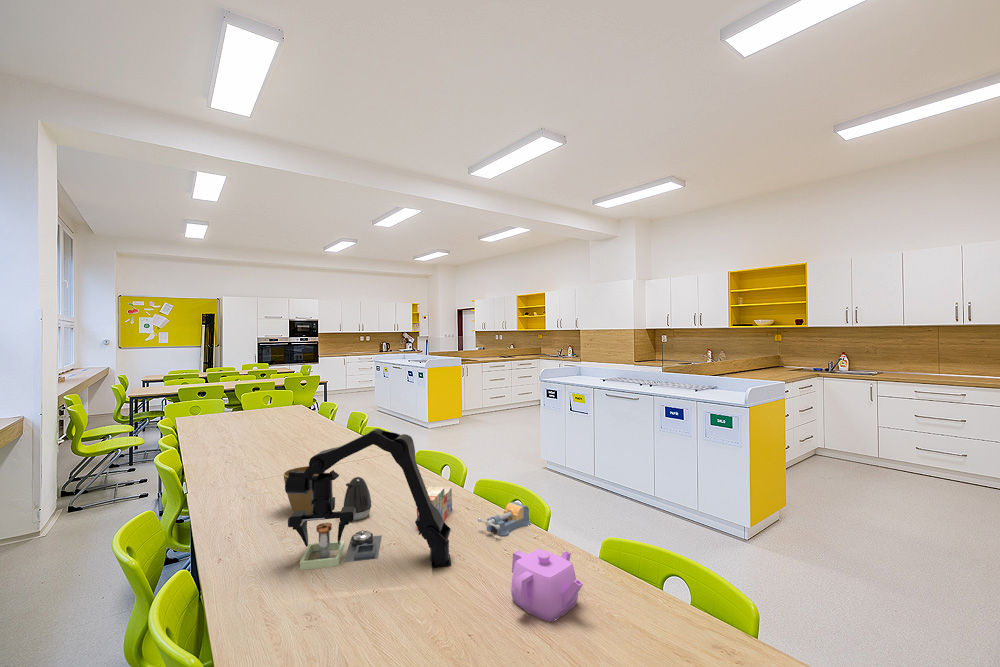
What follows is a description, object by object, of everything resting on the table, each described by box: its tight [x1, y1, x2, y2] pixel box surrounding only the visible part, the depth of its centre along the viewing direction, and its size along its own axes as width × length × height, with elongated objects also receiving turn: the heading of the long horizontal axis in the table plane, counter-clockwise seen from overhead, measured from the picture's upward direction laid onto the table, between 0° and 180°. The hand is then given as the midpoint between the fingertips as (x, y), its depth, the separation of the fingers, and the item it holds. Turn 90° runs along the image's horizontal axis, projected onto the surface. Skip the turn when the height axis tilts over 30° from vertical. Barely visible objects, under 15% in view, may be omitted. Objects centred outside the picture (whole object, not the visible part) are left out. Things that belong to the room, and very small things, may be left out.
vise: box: [477, 501, 531, 538], centre depth 158 cm, size 18×10×7 cm, turn 135°
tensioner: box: [343, 530, 383, 563], centre depth 142 cm, size 16×10×4 cm, turn 11°
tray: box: [299, 540, 345, 571], centre depth 136 cm, size 12×11×3 cm
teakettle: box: [510, 548, 584, 623], centre depth 114 cm, size 17×17×12 cm
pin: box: [315, 522, 333, 559], centre depth 136 cm, size 4×4×10 cm
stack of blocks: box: [416, 486, 453, 532], centre depth 164 cm, size 21×6×12 cm, turn 169°
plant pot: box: [283, 465, 326, 514], centre depth 175 cm, size 15×15×16 cm
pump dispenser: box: [342, 476, 372, 521], centre depth 169 cm, size 10×10×15 cm
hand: (323, 544), depth 136 cm, fingers open, 9 cm apart
